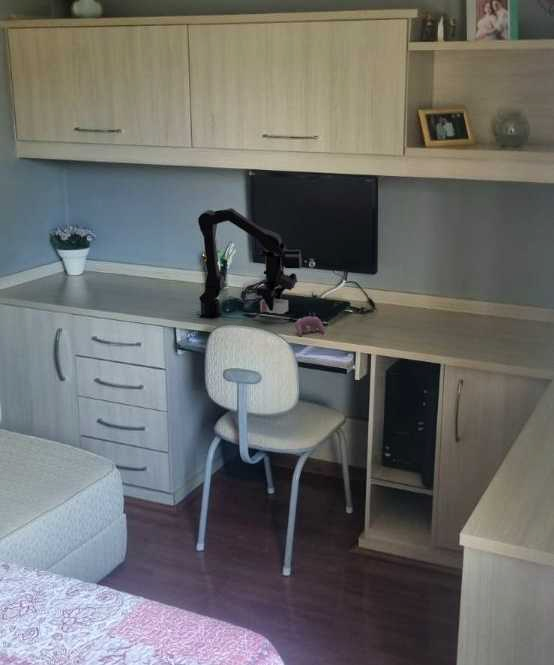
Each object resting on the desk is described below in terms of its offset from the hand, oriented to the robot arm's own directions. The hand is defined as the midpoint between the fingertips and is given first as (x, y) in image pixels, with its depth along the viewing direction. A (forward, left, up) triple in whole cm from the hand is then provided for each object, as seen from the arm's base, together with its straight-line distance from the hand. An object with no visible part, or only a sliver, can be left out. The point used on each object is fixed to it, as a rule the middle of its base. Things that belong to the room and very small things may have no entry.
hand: (274, 308), depth 328 cm
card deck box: (0, 0, -1) cm, 1 cm away
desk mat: (0, 0, -4) cm, 4 cm away
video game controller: (+19, -12, -4) cm, 23 cm away
